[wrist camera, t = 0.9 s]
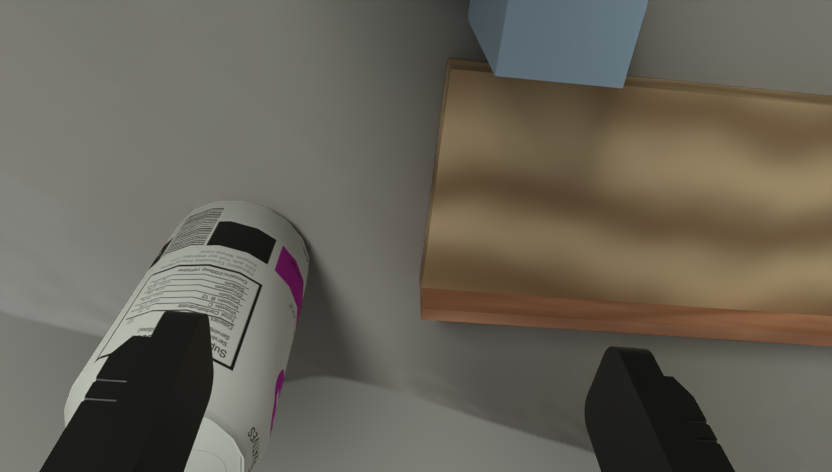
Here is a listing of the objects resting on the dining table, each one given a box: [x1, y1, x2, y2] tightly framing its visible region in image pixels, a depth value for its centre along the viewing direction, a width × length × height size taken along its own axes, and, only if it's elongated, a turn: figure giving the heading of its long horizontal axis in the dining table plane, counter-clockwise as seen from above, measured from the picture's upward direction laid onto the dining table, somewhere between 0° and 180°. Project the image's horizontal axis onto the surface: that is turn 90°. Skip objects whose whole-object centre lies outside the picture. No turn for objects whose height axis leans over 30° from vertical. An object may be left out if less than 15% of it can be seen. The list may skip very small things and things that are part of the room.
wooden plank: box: [420, 58, 832, 346], centre depth 33 cm, size 14×30×4 cm, turn 84°
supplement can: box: [64, 200, 309, 472], centre depth 29 cm, size 8×8×15 cm
